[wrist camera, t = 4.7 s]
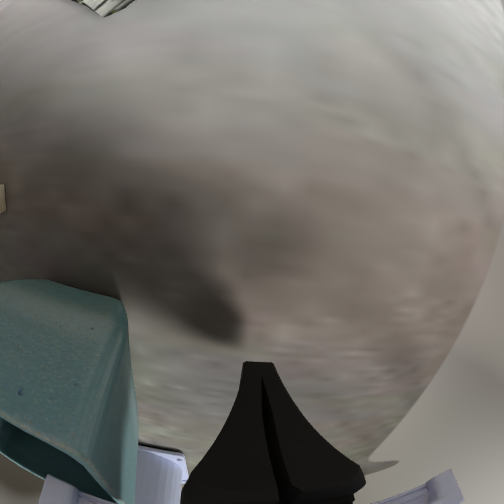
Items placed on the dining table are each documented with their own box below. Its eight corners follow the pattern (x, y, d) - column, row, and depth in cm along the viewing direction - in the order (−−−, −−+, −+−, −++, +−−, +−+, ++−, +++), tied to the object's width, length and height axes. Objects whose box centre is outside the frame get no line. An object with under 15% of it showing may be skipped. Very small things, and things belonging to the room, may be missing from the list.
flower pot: (160, 392, 15) (136, 517, 7) (47, 356, 14) (-6, 451, 6) (163, 273, 12) (85, 460, 4) (21, 241, 11) (-89, 333, 3)
